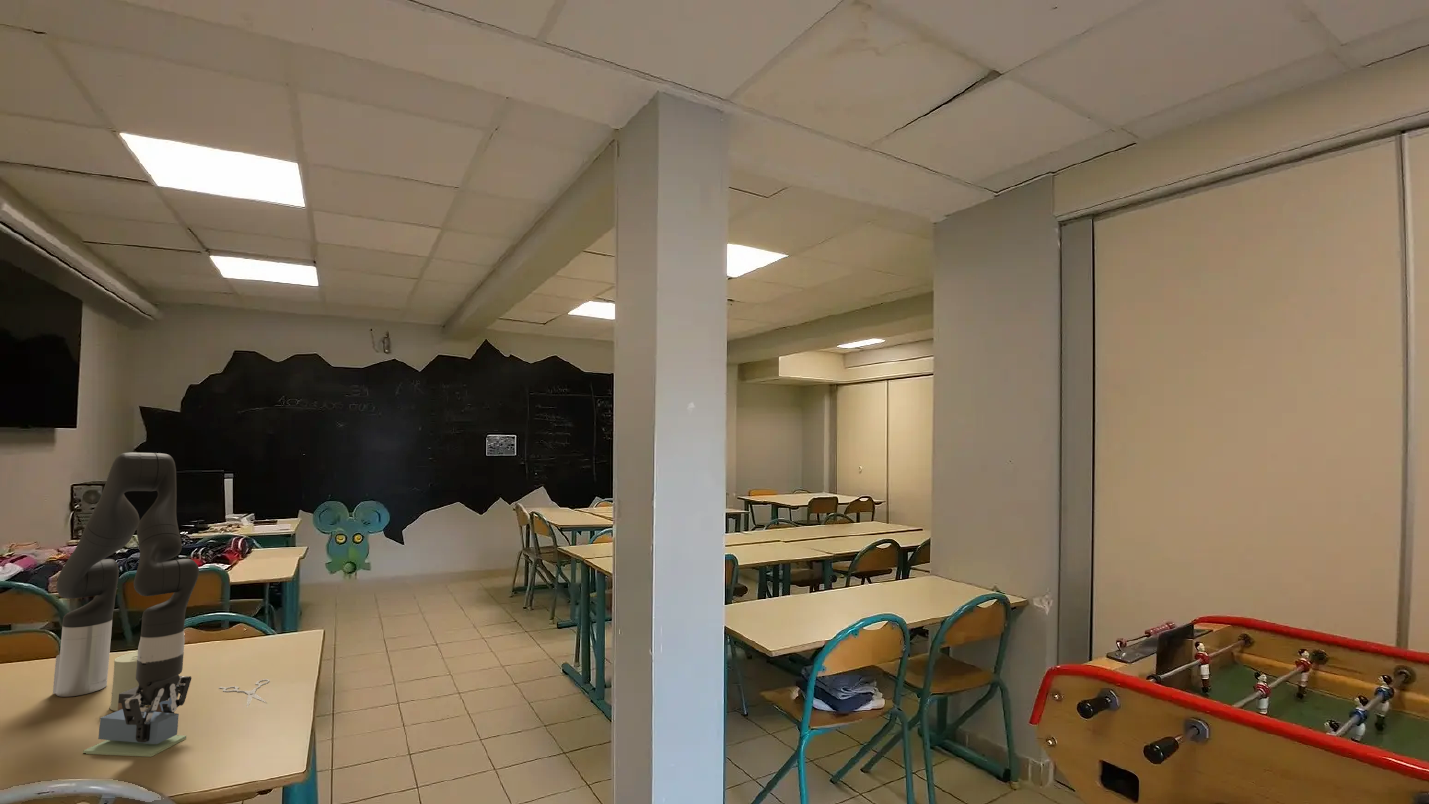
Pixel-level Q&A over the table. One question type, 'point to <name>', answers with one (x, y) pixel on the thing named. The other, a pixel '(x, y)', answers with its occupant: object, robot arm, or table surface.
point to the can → (123, 677)
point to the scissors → (249, 693)
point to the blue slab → (120, 731)
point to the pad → (132, 747)
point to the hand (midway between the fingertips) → (154, 735)
